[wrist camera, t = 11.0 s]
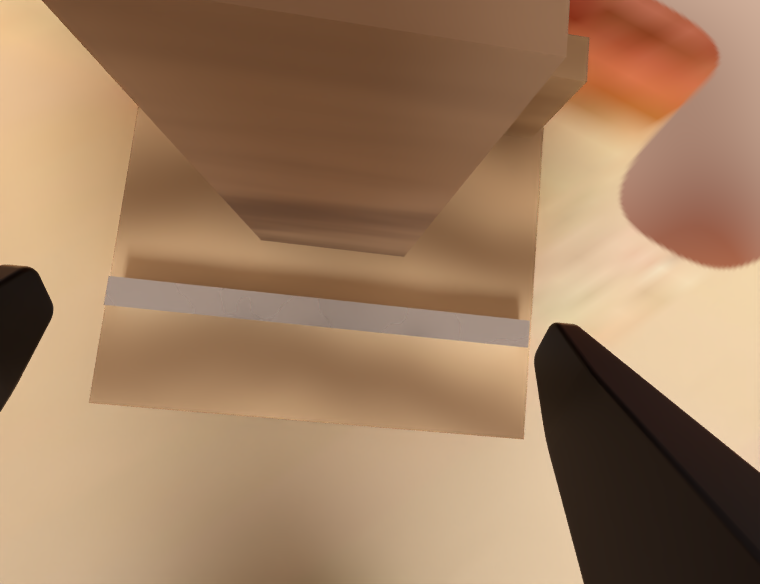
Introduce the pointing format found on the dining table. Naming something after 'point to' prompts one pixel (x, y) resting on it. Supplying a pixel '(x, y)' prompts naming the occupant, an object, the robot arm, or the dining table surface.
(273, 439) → the dining table surface
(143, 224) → the cleat board
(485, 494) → the dining table surface
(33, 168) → the dining table surface
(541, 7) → the wooden block
